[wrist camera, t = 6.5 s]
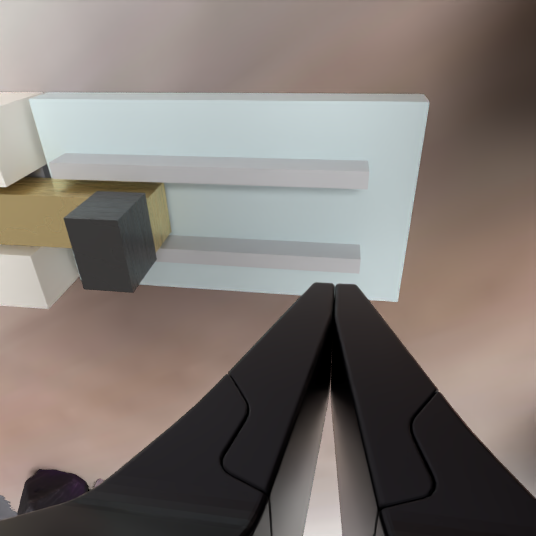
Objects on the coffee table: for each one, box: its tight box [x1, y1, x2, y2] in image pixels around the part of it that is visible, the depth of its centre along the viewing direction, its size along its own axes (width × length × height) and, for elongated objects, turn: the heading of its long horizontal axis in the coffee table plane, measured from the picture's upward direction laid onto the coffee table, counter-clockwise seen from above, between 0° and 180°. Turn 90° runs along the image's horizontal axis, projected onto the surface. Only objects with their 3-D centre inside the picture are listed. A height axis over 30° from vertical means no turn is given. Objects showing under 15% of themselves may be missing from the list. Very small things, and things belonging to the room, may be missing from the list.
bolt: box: [0, 177, 171, 293], centre depth 19 cm, size 10×3×4 cm, turn 91°
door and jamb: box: [0, 92, 430, 309], centre depth 20 cm, size 22×9×4 cm, turn 91°
